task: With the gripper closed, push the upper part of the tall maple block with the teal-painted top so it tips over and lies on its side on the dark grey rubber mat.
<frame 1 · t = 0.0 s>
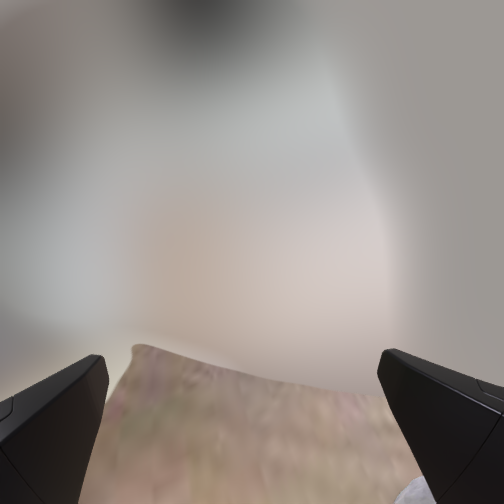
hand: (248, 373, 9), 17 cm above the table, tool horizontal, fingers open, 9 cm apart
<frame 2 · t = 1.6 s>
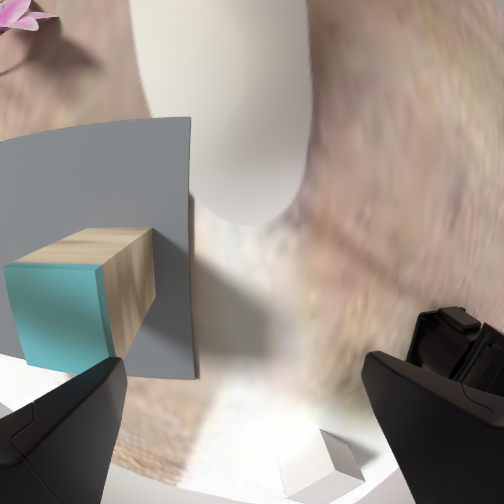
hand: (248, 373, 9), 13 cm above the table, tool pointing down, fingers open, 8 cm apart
rubber mat: (55, 259, 20), on the table
maple block: (120, 262, 20), resting on rubber mat
light grey cube: (313, 450, 28), on the table
lily: (21, 38, 15), on the table
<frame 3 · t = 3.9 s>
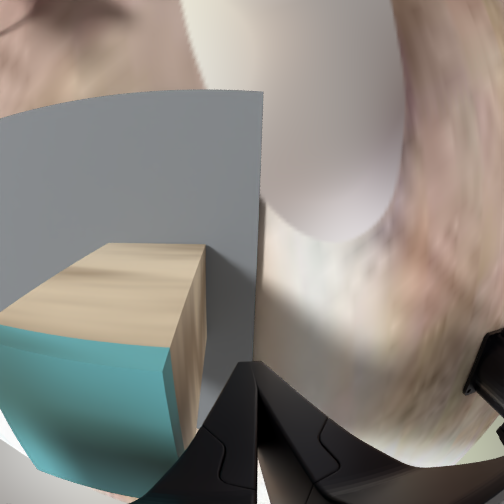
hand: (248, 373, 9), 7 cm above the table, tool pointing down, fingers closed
rubber mat: (61, 284, 15), on the table
maple block: (157, 291, 15), resting on rubber mat, touching gripper
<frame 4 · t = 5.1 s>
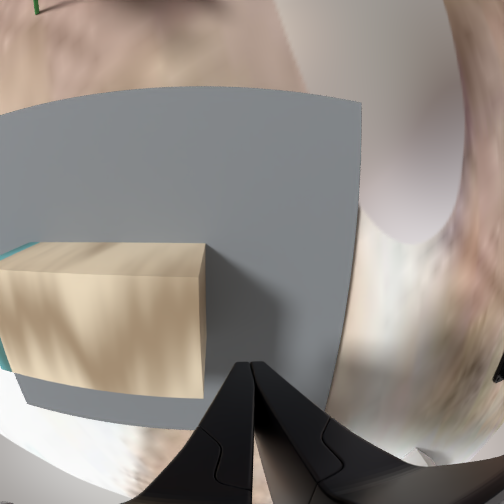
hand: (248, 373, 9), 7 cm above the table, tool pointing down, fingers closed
rubber mat: (139, 288, 15), on the table
maple block: (203, 314, 12), point 3 cm above the table, tilted 90°, touching rubber mat
light grey cube: (401, 468, 23), on the table
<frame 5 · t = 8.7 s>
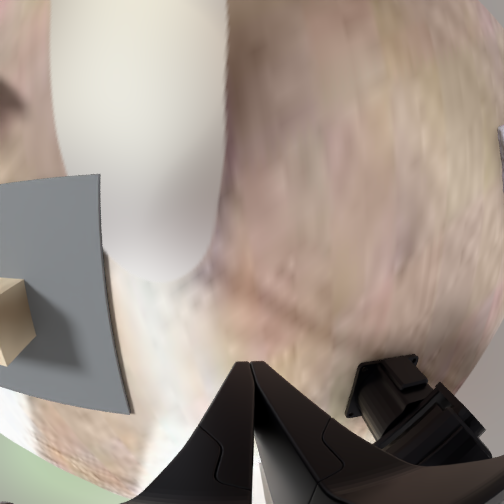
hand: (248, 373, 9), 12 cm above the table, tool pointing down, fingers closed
rubber mat: (4, 303, 19), on the table
maple block: (14, 321, 16), point 3 cm above the table, tilted 90°, touching rubber mat
light grey cube: (257, 479, 27), on the table
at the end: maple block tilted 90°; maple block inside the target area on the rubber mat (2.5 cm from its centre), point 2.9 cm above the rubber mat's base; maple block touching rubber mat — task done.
